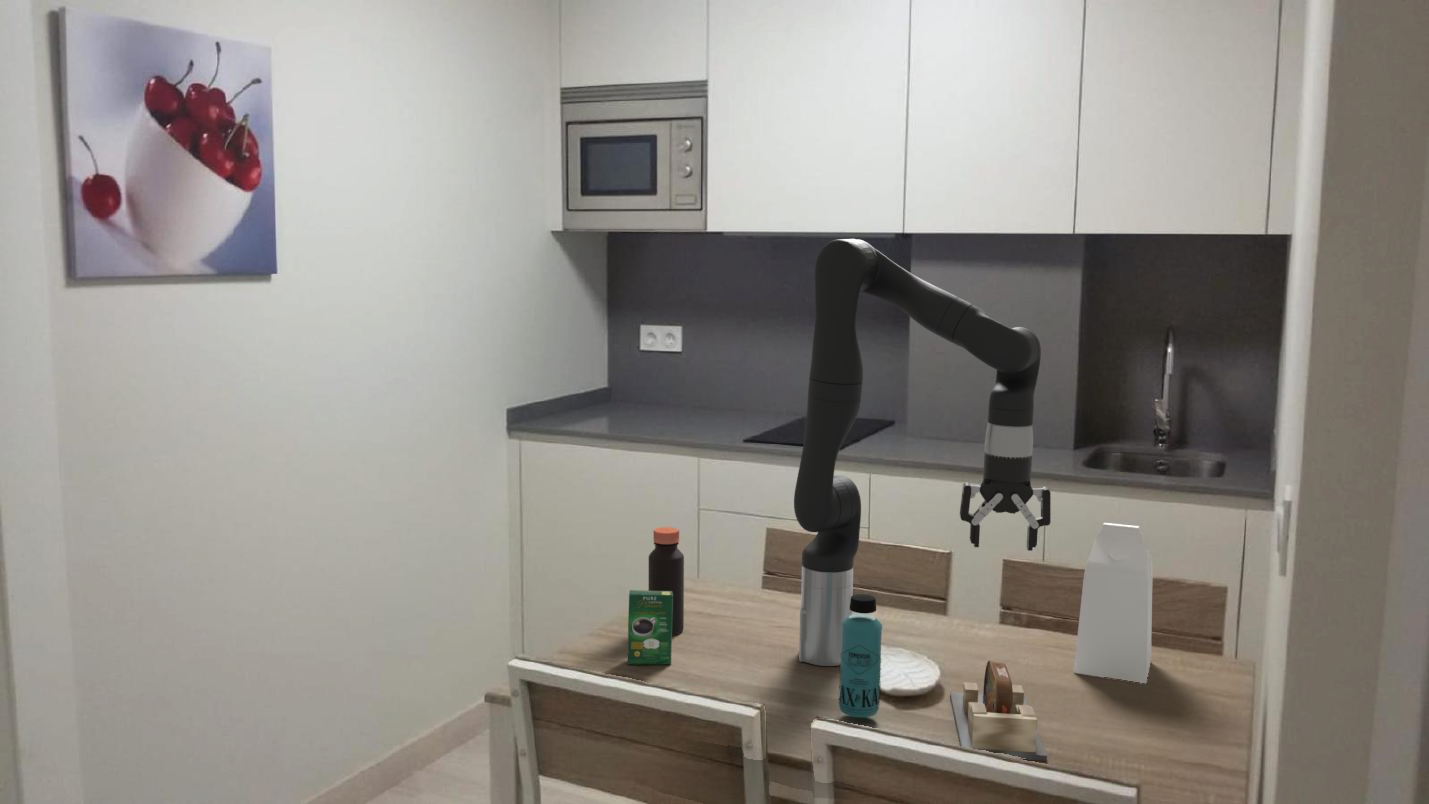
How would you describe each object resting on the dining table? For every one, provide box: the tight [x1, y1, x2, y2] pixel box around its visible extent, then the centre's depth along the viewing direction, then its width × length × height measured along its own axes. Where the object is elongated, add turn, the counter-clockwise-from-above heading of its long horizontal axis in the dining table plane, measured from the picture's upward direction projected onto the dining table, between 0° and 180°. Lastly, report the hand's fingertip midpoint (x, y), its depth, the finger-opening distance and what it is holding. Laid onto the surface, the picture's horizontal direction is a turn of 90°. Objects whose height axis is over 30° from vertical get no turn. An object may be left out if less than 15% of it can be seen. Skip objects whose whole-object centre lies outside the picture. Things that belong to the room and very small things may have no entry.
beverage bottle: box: [837, 593, 883, 718], centre depth 175 cm, size 6×7×20 cm
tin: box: [982, 660, 1013, 714], centre depth 173 cm, size 15×3×8 cm, turn 172°
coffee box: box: [627, 589, 673, 666], centre depth 198 cm, size 8×3×13 cm, turn 92°
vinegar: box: [648, 526, 685, 637], centre depth 215 cm, size 7×7×20 cm
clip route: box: [949, 681, 1048, 762], centre depth 173 cm, size 12×22×6 cm, turn 173°
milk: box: [1073, 522, 1154, 685], centre depth 197 cm, size 12×12×26 cm
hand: (1002, 547), depth 183 cm, fingers open, 8 cm apart
